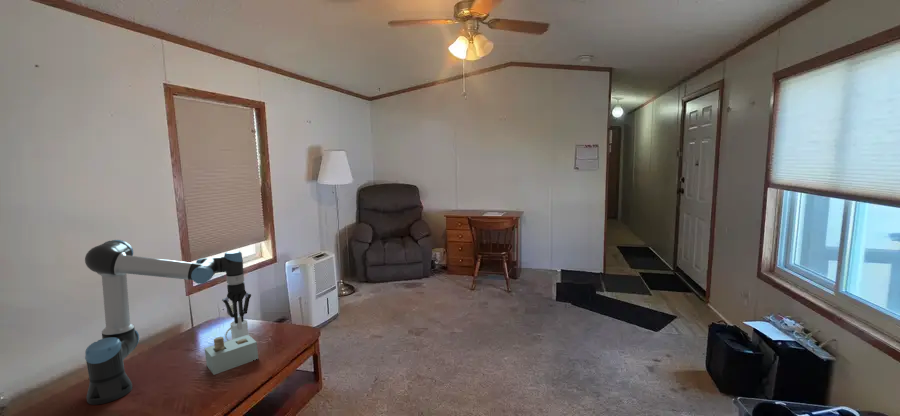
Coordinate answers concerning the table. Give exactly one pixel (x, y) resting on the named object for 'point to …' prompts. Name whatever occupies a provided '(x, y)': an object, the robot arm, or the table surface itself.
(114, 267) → the robot arm
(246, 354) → the socket block
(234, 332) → the mug
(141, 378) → the table surface
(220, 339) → the peg near
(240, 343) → the peg far
